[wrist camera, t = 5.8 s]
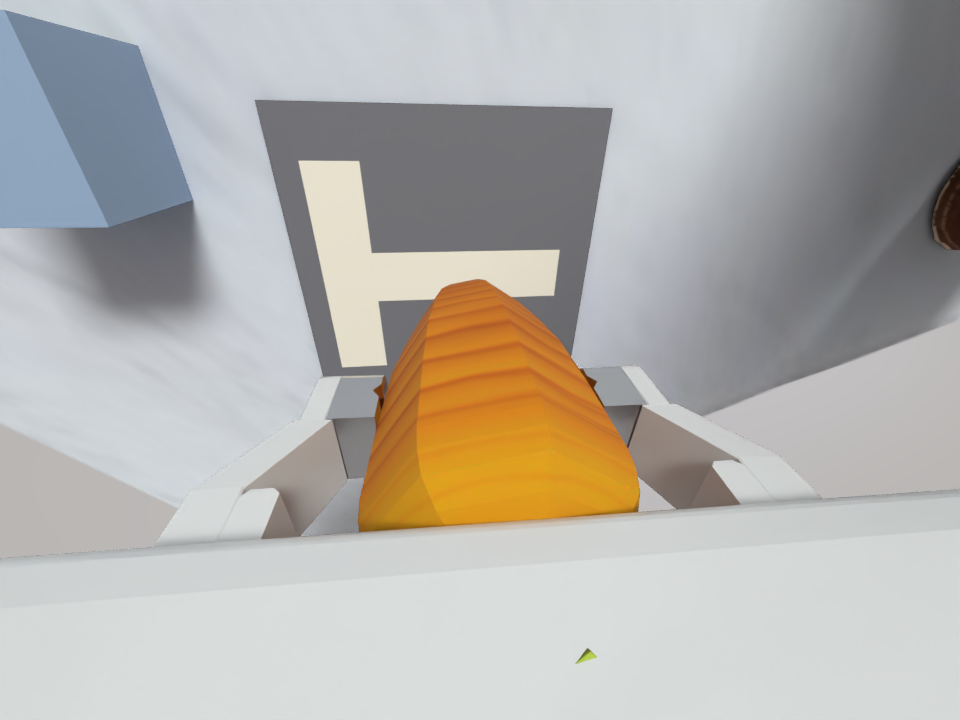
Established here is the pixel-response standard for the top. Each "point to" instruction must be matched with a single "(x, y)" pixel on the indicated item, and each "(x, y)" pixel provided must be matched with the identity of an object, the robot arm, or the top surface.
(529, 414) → the carrot
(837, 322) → the top surface
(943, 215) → the coffee cup
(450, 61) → the top surface
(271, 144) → the letter mat
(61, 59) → the slate cube
